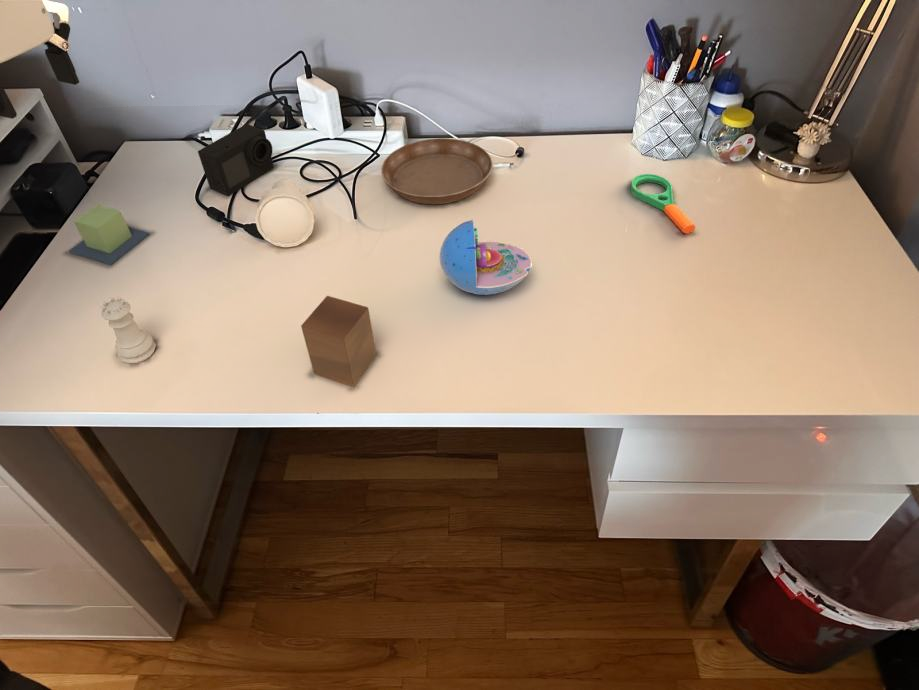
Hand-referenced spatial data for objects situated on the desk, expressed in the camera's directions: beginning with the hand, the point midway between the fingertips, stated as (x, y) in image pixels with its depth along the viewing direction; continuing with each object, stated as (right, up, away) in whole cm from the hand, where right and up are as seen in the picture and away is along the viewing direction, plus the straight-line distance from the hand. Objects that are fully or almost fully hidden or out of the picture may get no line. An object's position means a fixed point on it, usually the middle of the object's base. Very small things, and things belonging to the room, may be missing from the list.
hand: (39, 98), depth 83 cm
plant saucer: (+49, -4, +25) cm, 55 cm away
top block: (+1, -15, +16) cm, 22 cm away
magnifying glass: (+83, -10, +19) cm, 86 cm away
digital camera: (+17, -4, +27) cm, 32 cm away
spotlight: (+27, -13, +17) cm, 35 cm away
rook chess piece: (+12, -32, 0) cm, 34 cm away
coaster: (+1, -16, +16) cm, 22 cm away
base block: (+39, -33, -3) cm, 51 cm away
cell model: (+56, -23, +7) cm, 61 cm away
